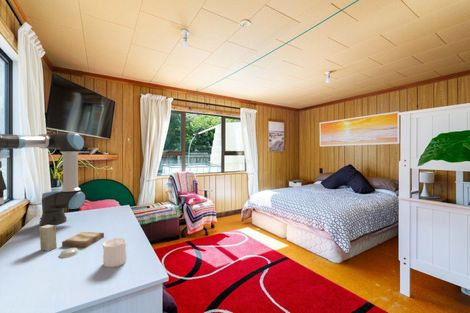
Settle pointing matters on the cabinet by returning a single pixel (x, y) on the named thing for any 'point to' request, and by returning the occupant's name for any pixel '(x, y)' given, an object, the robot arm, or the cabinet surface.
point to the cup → (114, 252)
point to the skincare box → (48, 237)
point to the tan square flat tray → (82, 239)
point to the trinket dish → (69, 252)
